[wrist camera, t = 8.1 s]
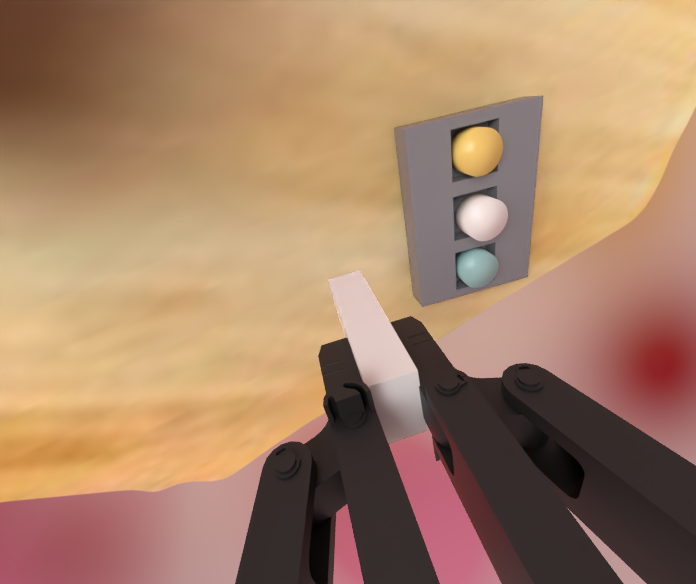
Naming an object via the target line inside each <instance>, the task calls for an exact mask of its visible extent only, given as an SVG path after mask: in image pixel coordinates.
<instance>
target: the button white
mask: <svg viewBox="0 0 696 584" xmlns="http://www.w3.org/2000/svg"><path fill="white" fill-rule="evenodd" d="M507 219H508V210H507V207H506V205H505V204H504V203H503V202H502V201H500V200H498V199H495V198H492V197H490V196H487V195H485V194H482V193H475V194H472V195H469V196H468V197H466V198H465V199H464V200H463V201H462V202H461V203H460V204H459V206H458V208H457V210H456V214H455V221H456V225H457V227H458V228H459V229H460V230H461V231H463V232H464V233H466V234H467V235H469V236H471V237H472V238H474V239H476V240H478V241H488V240H491V239H493V238H495V237H496V236H497V235H498V234H500V232H501V231H502V230H503V229H504V227H505V225H506V223H507Z"/></svg>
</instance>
